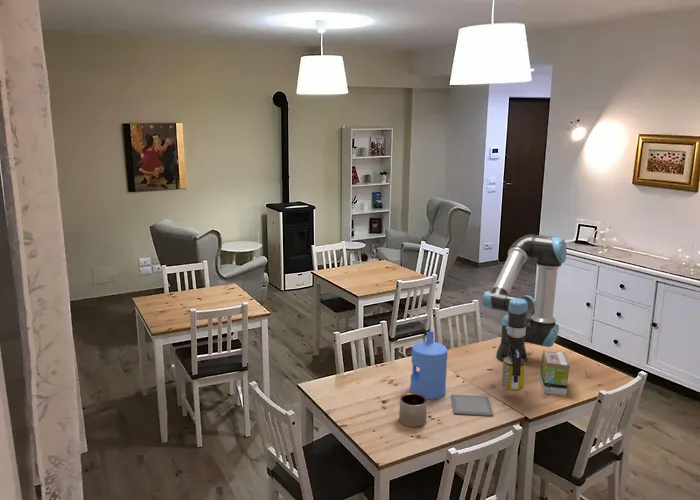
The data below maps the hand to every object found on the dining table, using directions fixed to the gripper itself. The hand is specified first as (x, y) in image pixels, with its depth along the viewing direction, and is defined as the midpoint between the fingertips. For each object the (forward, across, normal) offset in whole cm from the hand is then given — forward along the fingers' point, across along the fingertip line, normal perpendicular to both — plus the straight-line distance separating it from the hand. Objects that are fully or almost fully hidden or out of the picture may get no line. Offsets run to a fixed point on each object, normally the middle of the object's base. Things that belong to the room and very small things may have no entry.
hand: (512, 383), depth 251 cm
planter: (+6, +25, -43) cm, 50 cm away
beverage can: (+2, 0, 0) cm, 2 cm away
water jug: (+7, -1, -36) cm, 37 cm away
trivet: (+6, +10, -18) cm, 22 cm away
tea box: (+8, -12, +21) cm, 25 cm away
